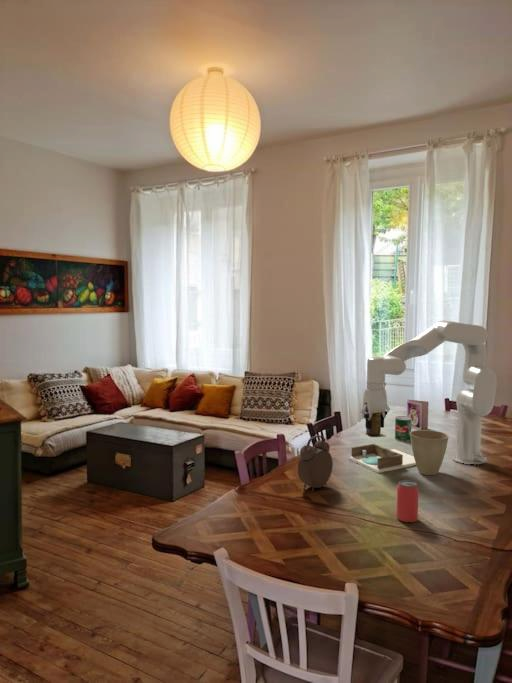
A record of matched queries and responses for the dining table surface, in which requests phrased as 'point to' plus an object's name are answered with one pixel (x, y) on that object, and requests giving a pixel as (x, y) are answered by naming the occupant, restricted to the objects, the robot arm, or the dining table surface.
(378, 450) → the tray
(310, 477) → the alarm clock
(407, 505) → the beer can
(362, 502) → the dining table surface
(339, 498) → the dining table surface
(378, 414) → the condiment
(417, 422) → the pink box
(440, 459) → the plant pot
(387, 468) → the board
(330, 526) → the dining table surface
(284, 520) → the dining table surface
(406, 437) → the canned tomato
